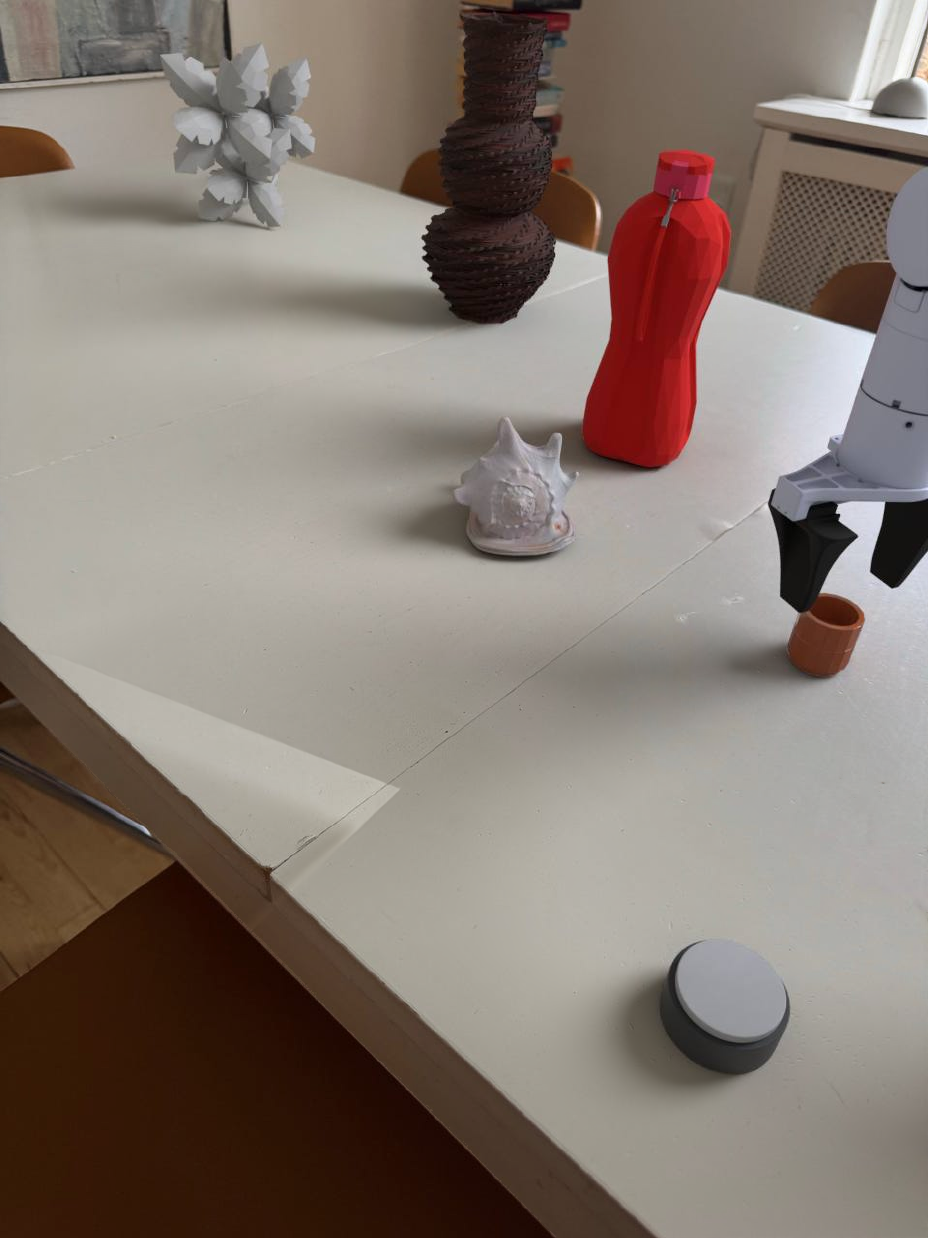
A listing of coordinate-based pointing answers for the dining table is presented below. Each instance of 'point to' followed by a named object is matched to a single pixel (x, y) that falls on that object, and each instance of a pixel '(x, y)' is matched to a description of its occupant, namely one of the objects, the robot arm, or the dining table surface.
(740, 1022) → the push button
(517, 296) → the vase
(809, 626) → the cup
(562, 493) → the seashell
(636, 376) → the water bottle
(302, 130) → the flower bouquet
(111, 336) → the dining table surface
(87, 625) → the dining table surface
